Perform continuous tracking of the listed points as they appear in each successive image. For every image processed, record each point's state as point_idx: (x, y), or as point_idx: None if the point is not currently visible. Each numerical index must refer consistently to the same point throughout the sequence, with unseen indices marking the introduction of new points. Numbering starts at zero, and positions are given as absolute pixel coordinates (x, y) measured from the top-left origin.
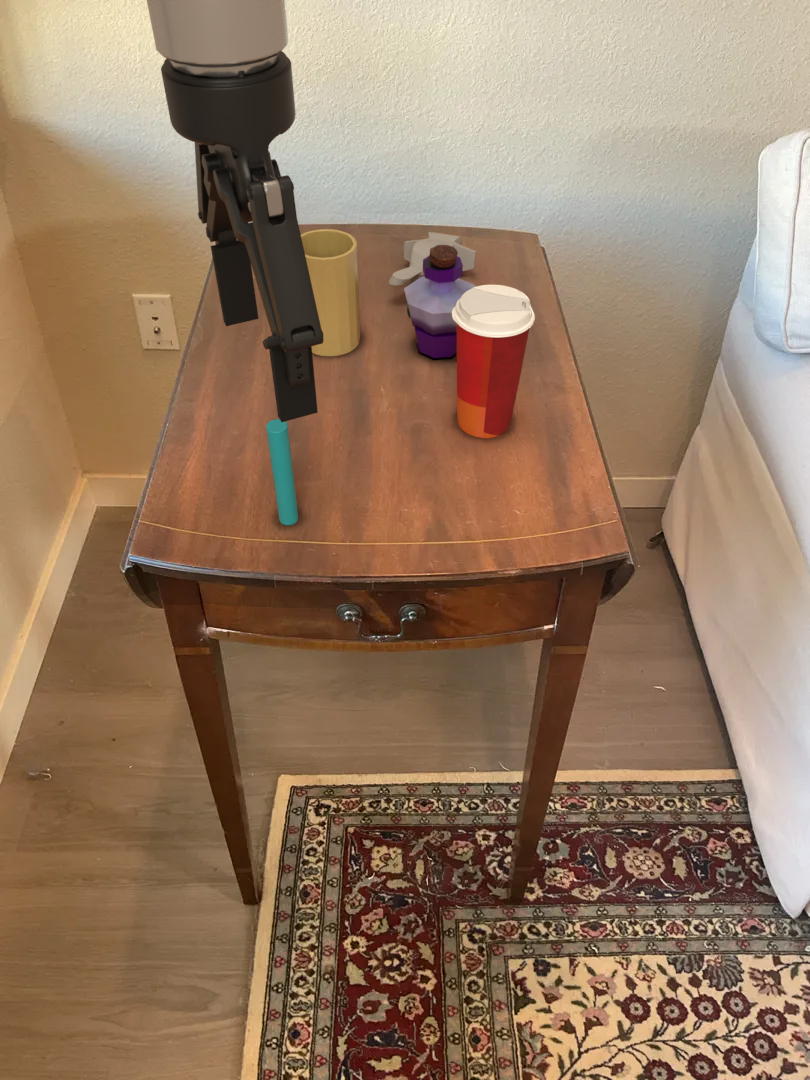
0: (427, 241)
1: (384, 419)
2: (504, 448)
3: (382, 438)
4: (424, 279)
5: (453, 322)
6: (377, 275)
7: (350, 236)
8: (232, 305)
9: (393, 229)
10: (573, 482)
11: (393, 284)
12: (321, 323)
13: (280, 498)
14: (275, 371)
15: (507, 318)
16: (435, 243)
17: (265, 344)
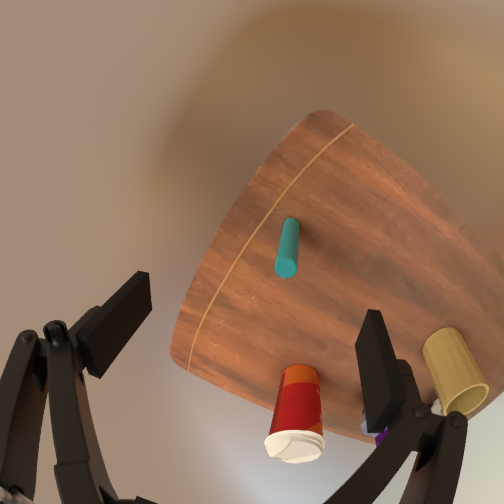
0: None
1: (346, 334)
2: (270, 371)
3: (329, 324)
4: None
5: (364, 414)
6: None
7: None
8: (368, 338)
9: (479, 409)
10: (223, 377)
11: (437, 399)
12: (441, 352)
13: (285, 228)
14: (99, 308)
15: (271, 449)
16: None
17: (51, 324)
